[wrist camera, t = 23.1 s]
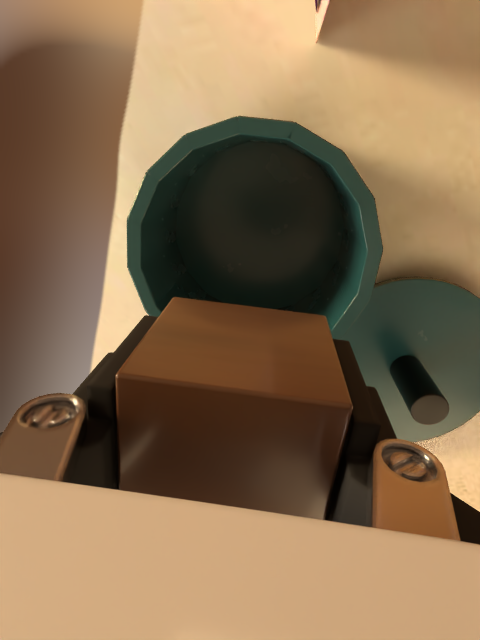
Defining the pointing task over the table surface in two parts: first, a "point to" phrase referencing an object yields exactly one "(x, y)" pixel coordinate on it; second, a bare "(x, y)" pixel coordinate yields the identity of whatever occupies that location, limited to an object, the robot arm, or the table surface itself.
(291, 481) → the block
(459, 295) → the lid
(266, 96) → the table surface
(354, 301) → the pot
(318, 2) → the greeting card
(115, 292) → the table surface
